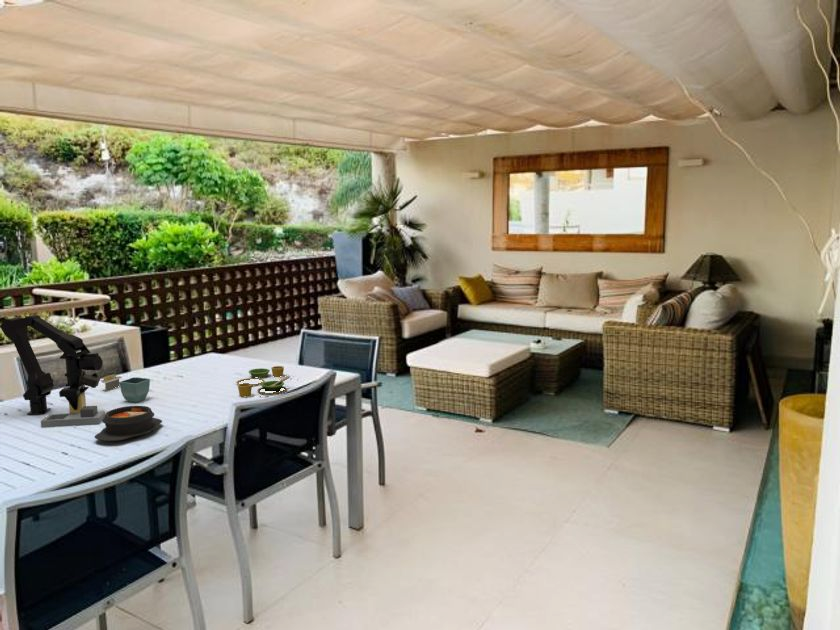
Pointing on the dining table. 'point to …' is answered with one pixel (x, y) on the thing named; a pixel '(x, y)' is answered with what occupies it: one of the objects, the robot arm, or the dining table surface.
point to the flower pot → (135, 389)
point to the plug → (79, 404)
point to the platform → (111, 382)
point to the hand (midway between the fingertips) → (77, 407)
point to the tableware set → (268, 386)
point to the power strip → (74, 418)
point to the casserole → (127, 423)
